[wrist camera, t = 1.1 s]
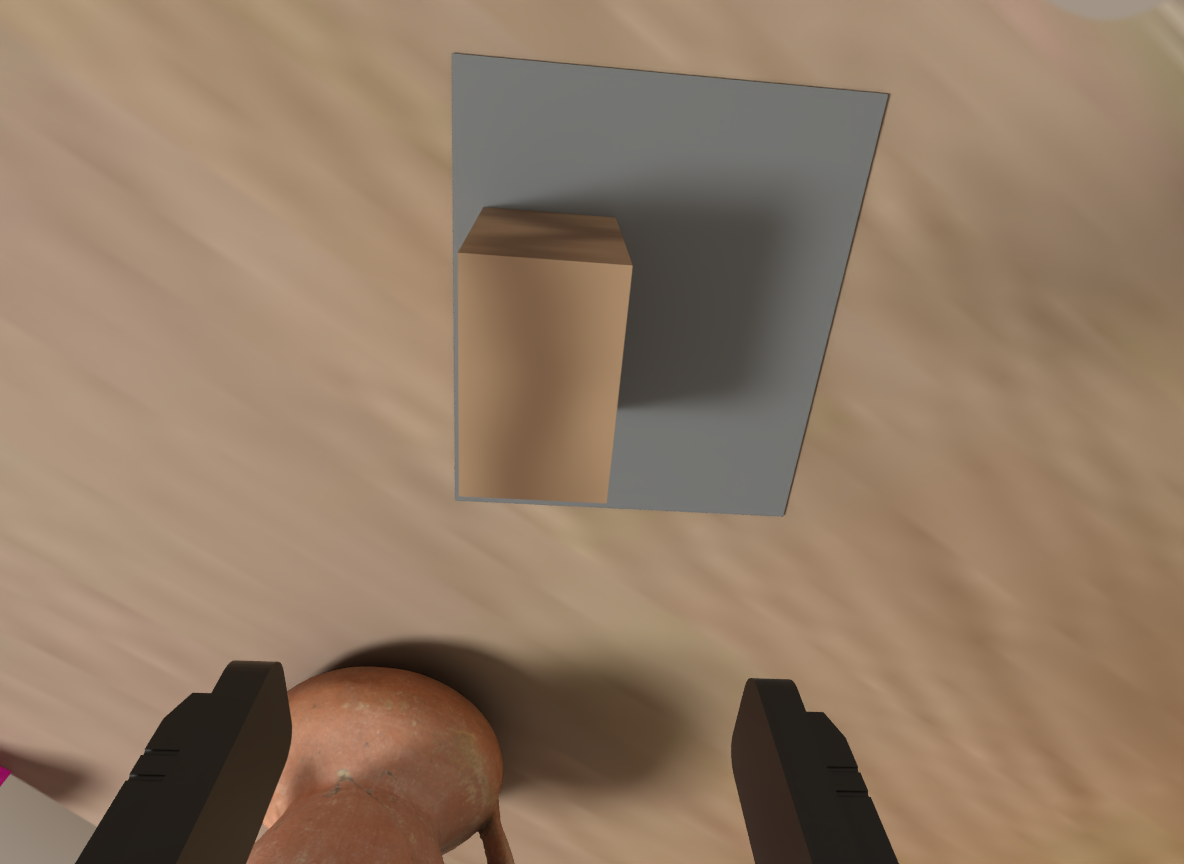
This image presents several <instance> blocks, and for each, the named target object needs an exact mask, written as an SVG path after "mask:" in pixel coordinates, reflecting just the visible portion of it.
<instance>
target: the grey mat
mask: <svg viewBox="0 0 1184 864" xmlns="http://www.w3.org/2000/svg"><path fill="white" fill-rule="evenodd" d="M887 98H888V94H882V93H871V92H860V91H850V90H839V89H828V88H817V87H807V86H796V85H785V84H775V83H764V82H753V81H743V80H732V79H721V78H710V77H700V76H689V75H678V74H668V73H657V72H646V71H636V70H625V69H614V68H604V67H593V66H582V65H571V64H561V63H550V62H539V61H529V60H518V59H507V58H497V57H486V56H475V55H464V54H454V53H452V155H453V285H454V416H455V501H474V502H495V503H515V504H536V505H556V506H577V507H597V508H618V509H638V510H659V511H679V512H700V513H720V514H741V515H761V516H781V517H783V515H784V511H785V507H786V503H787V499H788V495H789V491H790V487H791V483H792V479H793V475H794V471H795V467H796V463H797V459H798V455H799V451H800V447H801V443H802V439H803V435H804V431H805V427H806V423H807V419H808V415H809V411H810V407H811V403H812V399H813V395H814V391H815V387H816V383H817V379H818V375H819V371H820V367H821V363H822V359H823V355H824V351H825V347H826V343H827V339H828V335H829V331H830V327H831V323H832V319H833V315H834V311H835V307H836V303H837V299H838V295H839V291H840V287H841V283H842V279H843V275H844V271H845V267H846V263H847V259H848V255H849V251H850V247H851V243H852V239H853V235H854V231H855V226H856V222H857V218H858V214H859V210H860V206H861V202H862V198H863V194H864V190H865V186H866V182H867V178H868V174H869V170H870V166H871V162H872V158H873V154H874V150H875V146H876V142H877V138H878V134H879V130H880V126H881V122H882V118H883V114H884V110H885V106H886V102H887ZM483 207H489V208H502V209H515V210H528V211H540V212H553V213H566V214H579V215H591V216H604V217H616V219H617V222H618V225H619V228H620V231H621V234H622V236H623V239H624V242H625V245H626V248H627V251H628V254H629V256H630V259H631V262H632V265H633V268H632V277H631V286H630V295H629V304H628V313H627V322H626V331H625V340H624V350H623V359H622V368H621V377H620V386H619V395H618V404H617V413H616V422H615V432H614V441H613V450H612V459H611V468H610V477H609V486H608V495H607V504H606V503H585V502H565V501H545V500H524V499H504V498H484V497H464V496H459V418H458V251H459V249H460V248H461V246H462V244H463V242H464V241H465V239H466V237H467V235H468V233H469V232H470V230H471V228H472V226H473V225H474V223H475V221H476V219H477V217H478V216H479V214H480V212H481V210H482V209H483Z"/></svg>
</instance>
